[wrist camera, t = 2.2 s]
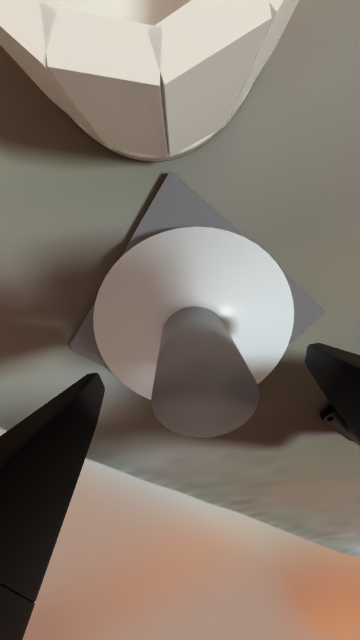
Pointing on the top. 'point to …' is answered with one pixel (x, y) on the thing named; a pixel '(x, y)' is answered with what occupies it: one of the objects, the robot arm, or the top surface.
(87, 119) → the bowl
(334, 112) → the top surface
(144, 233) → the mat
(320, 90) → the top surface
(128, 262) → the lid
